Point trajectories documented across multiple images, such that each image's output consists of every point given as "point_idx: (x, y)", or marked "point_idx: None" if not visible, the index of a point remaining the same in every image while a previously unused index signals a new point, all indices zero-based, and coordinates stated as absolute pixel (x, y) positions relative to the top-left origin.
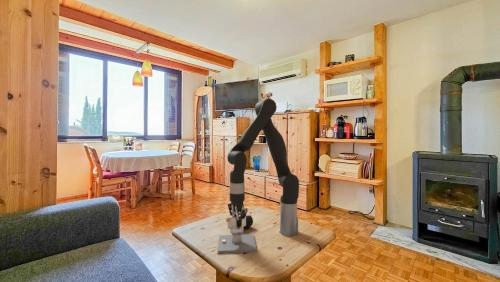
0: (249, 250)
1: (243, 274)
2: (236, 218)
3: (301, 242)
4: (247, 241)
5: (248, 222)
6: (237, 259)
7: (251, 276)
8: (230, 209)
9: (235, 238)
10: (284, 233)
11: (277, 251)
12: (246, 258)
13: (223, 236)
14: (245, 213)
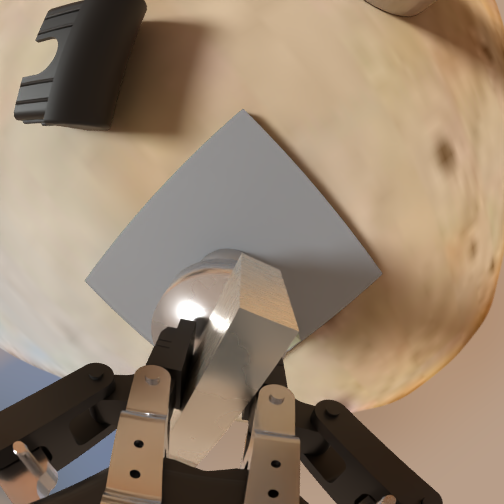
0: (350, 299)
1: (389, 398)
2: (227, 426)
3: (475, 60)
4: (283, 230)
5: (126, 38)
6: (329, 368)
7: (414, 388)
8: (72, 458)
9: None
10: (397, 9)
11: (450, 196)
12: (360, 340)
13: (110, 277)
14: (394, 476)
